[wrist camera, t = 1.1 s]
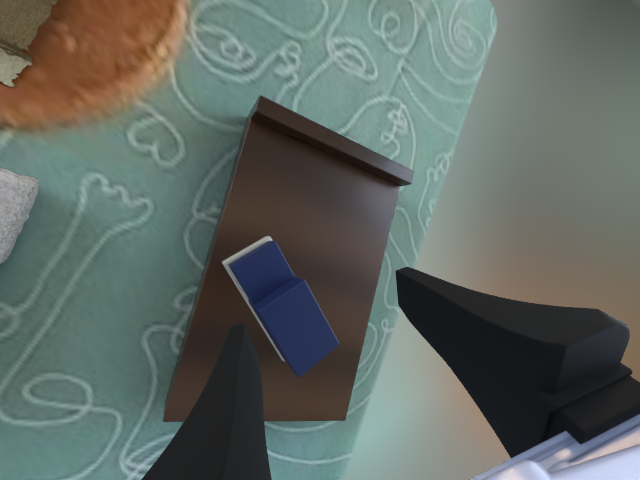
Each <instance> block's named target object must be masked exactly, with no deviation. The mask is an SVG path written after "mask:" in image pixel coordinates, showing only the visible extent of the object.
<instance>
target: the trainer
mask: <svg viewBox="0 0 640 480" xmlns="http://www.w3.org/2000/svg"><path fill="white" fill-rule="evenodd" d="M222 264H223V265H224V267H225V269H226V270H227V272H228V274H229V275H230V277H231V278H232V280H233V282H234V283H235V285H236V287H237V288H238V290H239V291H240V293H241V295H242V296H243V298H244V300H245V301H246V303H247V304H248V306H249V308H250V309H251V311H252V313H253V314H254V316H255V317H256V319H257V321H258V322H259V324H260V326H261V327H262V329H263V330H264V332H265V334H266V335H267V337H268V339H269V340H270V342H271V344H272V345H273V347H274V348H275V350H276V352H277V353H278V355H279V356H280V358H281V359H282V360H283V361H286V363H287V364H288V365H289V367H290V368H291V369H292V370H293V372H294V373H295V374H296V376H297V377H298V378H299V377H301V376H302V375H303V374H304V373H305V372H307V371H308V370H309V369H310V368H312V367H313V366H314V365H315V364H316V363H318V362H319V361H320V360H321V359H322V358H324V357H325V356H326V355H327V354H329V353H330V352H331V351H332V350H333V349H335V348H336V347H337V346H338V345H339V342H338V340H337V338H336V336H335V334H334V332H333V331H332V329H331V327H330V325H329V323H328V321H327V320H326V318H325V316H324V314H323V312H322V310H321V309H320V307H319V305H318V303H317V301H316V299H315V298H314V296H313V294H312V292H311V290H310V288H309V286H308V285H307V283H306V281H305V280H304V279H301V278H299V277H296V276H295V275H294V273H293V272H292V270H291V268H290V266H289V264H288V263H287V261H286V259H285V257H284V255H283V253H282V252H281V250H280V248H279V246H278V244H277V243H276V241H272V239H271V237H270V236H266V237H264V238H262V239H260V240H259V241H257V242H255V243H253V244H252V245H250V246H248V247H247V248H245V249H243V250H241V251H240V252H238V253H236V254H234V255H233V256H231V257H229V258H227V259H226V260H224V261H222Z"/></svg>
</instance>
